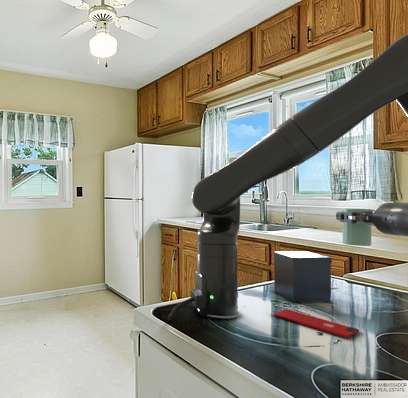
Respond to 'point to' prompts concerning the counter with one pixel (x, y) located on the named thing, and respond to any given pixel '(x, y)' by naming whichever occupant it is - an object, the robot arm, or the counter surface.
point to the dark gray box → (302, 276)
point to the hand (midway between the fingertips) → (349, 215)
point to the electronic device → (317, 323)
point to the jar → (356, 232)
